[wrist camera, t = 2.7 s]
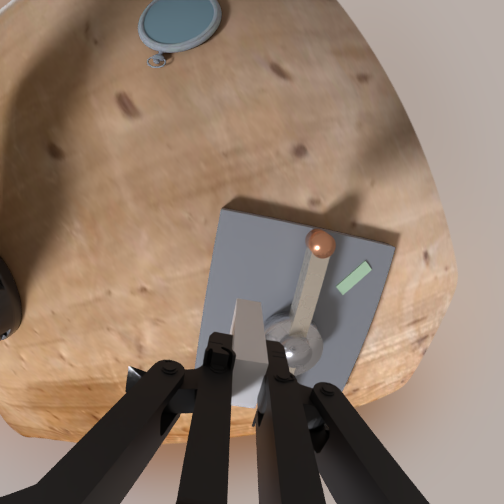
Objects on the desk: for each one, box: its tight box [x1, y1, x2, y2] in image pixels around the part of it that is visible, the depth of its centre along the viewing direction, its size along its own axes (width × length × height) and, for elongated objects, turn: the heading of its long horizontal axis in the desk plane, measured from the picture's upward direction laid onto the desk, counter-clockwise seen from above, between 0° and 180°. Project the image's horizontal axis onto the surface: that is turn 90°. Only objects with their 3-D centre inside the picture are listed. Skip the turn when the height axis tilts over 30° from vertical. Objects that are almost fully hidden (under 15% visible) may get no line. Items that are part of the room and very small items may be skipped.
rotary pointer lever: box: [264, 229, 336, 376], centre depth 30 cm, size 7×23×5 cm, turn 168°
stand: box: [195, 208, 395, 392], centre depth 34 cm, size 20×22×2 cm
